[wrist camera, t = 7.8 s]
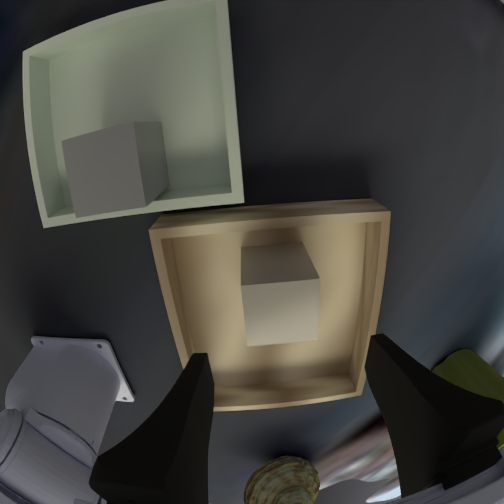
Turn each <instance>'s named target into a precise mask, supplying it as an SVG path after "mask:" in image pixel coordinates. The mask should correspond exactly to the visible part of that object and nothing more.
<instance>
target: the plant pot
mask: <svg viewBox="0 0 504 504" xmlns="http://www.w3.org/2000/svg"><path fill="white" fill-rule="evenodd" d="M432 372H433V373H435V374H436V375H438V376H440V377H441V378H443V379H445V380H447V381H448V382H450V383H452V384H454V385H456V386H459V387H461V388H463V389H465V390H468V391H470V392H473V393H476V394H479V395H482V396H485V397H489V398H493V399H497V400H501V401H502V402H503V403H504V377H503V376H501V375H500V374H499V373H498V372H497V371H496V370H495V369H494V368H492V367H491V366H490V365H489V364H488V363H487V362H485V361H484V360H483V359H482V358H481V357H480V356H478V355H477V354H476V353H475V352H474V351H472V350H470V349H462V350H459V351H456V352H454V353H452V354H451V355H449V356H448V357H447V358H446V360H445V361H444V362H443V363H441V364H440V365H437V366H436V367H435V368H434V369H433V370H432ZM497 439H498V441H499V444H498V445H496V446H497V448H498V450H499V449H500V448H501V447H503V446H504V428H503V429H502V431H501V432H500V433H499V434H498V436H497Z"/></svg>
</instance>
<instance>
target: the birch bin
mask: <svg viewBox="0 0 504 504" xmlns="http://www.w3.org/2000/svg"><path fill="white" fill-rule="evenodd" d="M390 216H391V211H390V210H388V209H387V208H385V207H384V206H382V205H381V204H379V203H378V202H376V201H375V200H373V199H351V200H331V201H313V202H297V203H282V204H269V205H256V206H244V207H232V208H221V209H211V210H201V211H191V212H181V213H172V214H163V215H161V216H160V217H159V218H158V219H157V220H156V222H155V223H154V224H153V225H152V227H151V228H150V229H149V234H150V239H151V244H152V249H153V254H154V259H155V263H156V268H157V272H158V277H159V281H160V285H161V289H162V293H163V297H164V301H165V305H166V309H167V313H168V317H169V321H170V324H171V328H172V332H173V335H174V339H175V342H176V346H177V349H178V353H179V356H180V360H181V363H182V366H183V369H184V368H185V366H186V364H187V363H188V361H189V359H190V357H191V355H192V354H193V353H207V354H208V358H209V363H210V367H211V371H212V375H213V380H214V384H215V387H214V410H213V411H235V410H252V409H266V408H277V407H287V406H295V405H304V404H311V403H318V402H325V401H331V400H337V399H343V398H348V397H354V396H359V395H362V391H363V387H364V383H365V379H366V372H365V368H364V366H365V362H366V357H367V352H368V347H369V342H370V337H371V335H375V333H376V327H377V322H378V316H379V310H380V304H381V298H382V291H383V284H384V276H385V268H386V260H387V251H388V241H389V229H390ZM296 242H303V244H304V246H305V248H306V250H307V252H308V254H309V256H310V258H311V261H312V263H313V265H314V267H315V269H316V271H317V273H318V275H319V277H320V296H319V319H318V337H317V340H309V341H300V342H291V343H281V344H271V345H259V346H247V338H246V329H245V320H244V311H243V302H242V293H241V247H247V246H259V245H272V244H284V243H296Z"/></svg>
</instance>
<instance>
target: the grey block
mask: <svg viewBox="0 0 504 504" xmlns="http://www.w3.org/2000/svg"><path fill="white" fill-rule="evenodd" d="M62 148H63V155H64V161H65V167H66V173H67V179H68V184H69V189H70V194H71V199H72V203H73V208H74V212H75V216H76V218H79V217H85V216H91V215H97V214H103V213H110V212H116V211H123V210H129V209H136V208H143V207H147V206H148V205H149V204H150V203H151V202H152V201H153V200H155V199H156V198H157V197H158V196H159V195H160V194H161V193H162V192H163V191H164V190H166V189H167V188H168V187H169V186H170V183H169V176H168V169H167V162H166V154H165V147H164V138H163V130H162V122H131V123H126V124H122V125H117V126H113V127H109V128H105V129H101V130H97V131H94V132H90V133H86V134H83V135H79V136H76V137H73V138H69V139H66V140H63V141H62Z"/></svg>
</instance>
